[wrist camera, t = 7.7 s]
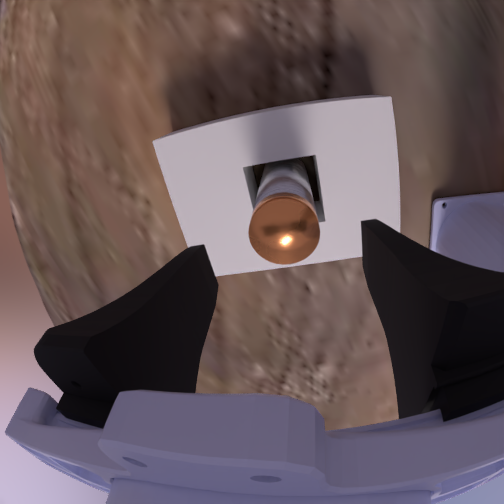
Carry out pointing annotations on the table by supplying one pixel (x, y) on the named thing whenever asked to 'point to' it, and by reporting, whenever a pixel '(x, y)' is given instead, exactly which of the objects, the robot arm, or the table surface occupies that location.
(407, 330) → the robot arm
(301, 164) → the pin
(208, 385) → the table surface
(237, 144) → the block
